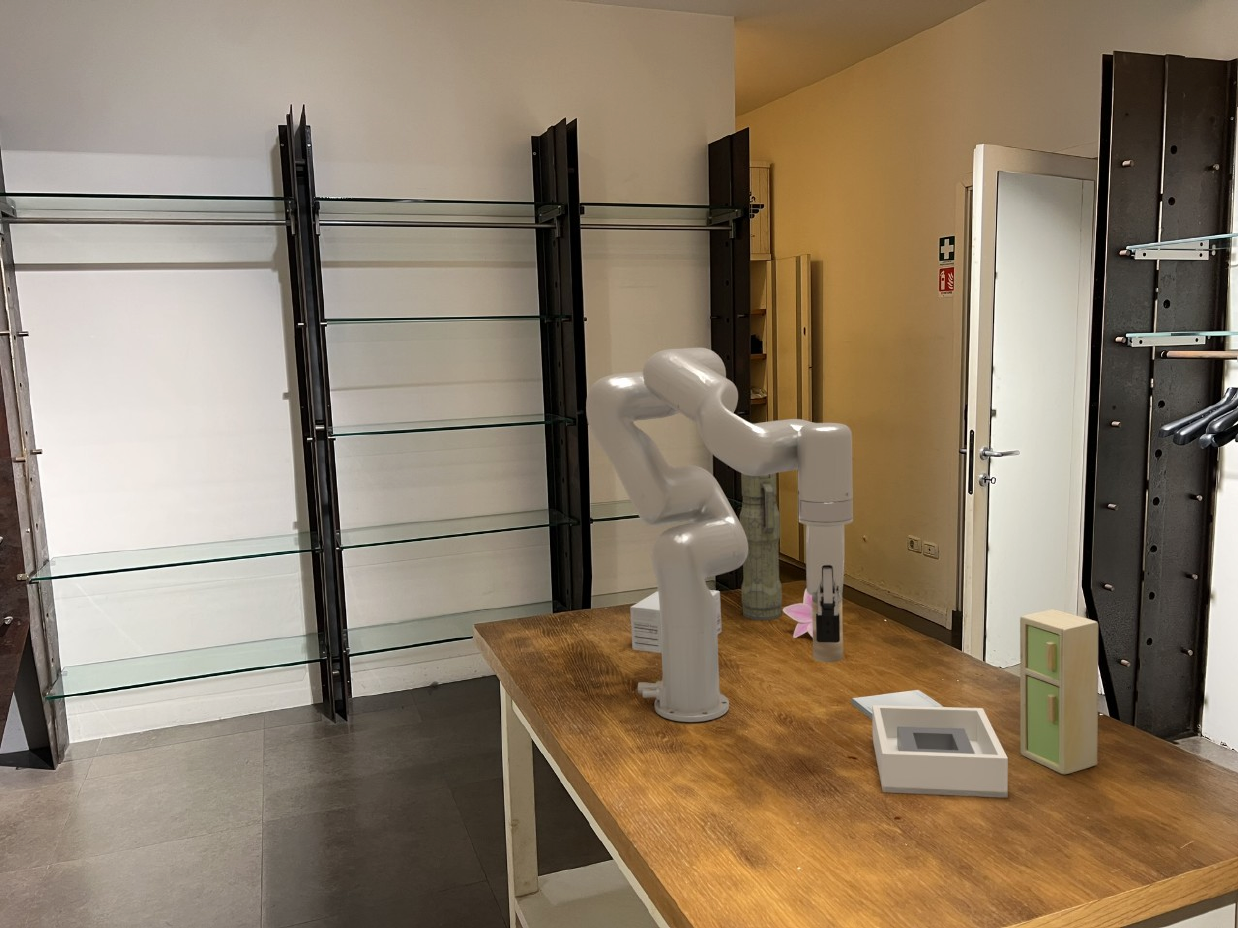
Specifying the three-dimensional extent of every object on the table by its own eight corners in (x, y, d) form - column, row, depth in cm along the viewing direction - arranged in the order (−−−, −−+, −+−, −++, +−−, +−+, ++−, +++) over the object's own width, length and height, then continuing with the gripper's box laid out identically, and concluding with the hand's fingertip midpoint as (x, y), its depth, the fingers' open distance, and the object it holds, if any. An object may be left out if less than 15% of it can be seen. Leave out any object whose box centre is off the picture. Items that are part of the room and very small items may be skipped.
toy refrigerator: (1014, 755, 137) (1015, 615, 134) (1051, 744, 140) (1053, 607, 137) (1059, 777, 129) (1062, 630, 127) (1097, 765, 132) (1101, 621, 130)
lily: (780, 633, 200) (771, 601, 195) (824, 606, 203) (816, 573, 198) (814, 665, 191) (805, 632, 186) (859, 636, 194) (853, 603, 188)
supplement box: (666, 626, 206) (665, 584, 205) (722, 633, 200) (720, 590, 198) (630, 650, 191) (628, 605, 190) (689, 658, 185) (687, 612, 184)
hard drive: (874, 715, 150) (943, 705, 153) (850, 697, 158) (917, 687, 161) (874, 725, 151) (943, 715, 153) (850, 706, 158) (917, 696, 161)
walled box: (882, 791, 127) (882, 753, 127) (872, 739, 144) (872, 705, 143) (1007, 797, 124) (1007, 758, 124) (982, 743, 141) (982, 708, 140)
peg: (813, 662, 133) (812, 593, 132) (812, 652, 137) (811, 585, 136) (843, 662, 133) (842, 593, 131) (842, 652, 137) (841, 586, 135)
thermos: (758, 624, 204) (754, 465, 199) (732, 610, 215) (727, 459, 210) (793, 618, 207) (790, 461, 203) (765, 605, 218) (761, 456, 213)
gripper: (798, 500, 141) (800, 618, 143) (798, 522, 125) (801, 655, 127) (849, 500, 140) (851, 619, 142) (856, 522, 123) (858, 656, 126)
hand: (827, 634), depth 135 cm, fingers closed on peg, 4 cm apart
